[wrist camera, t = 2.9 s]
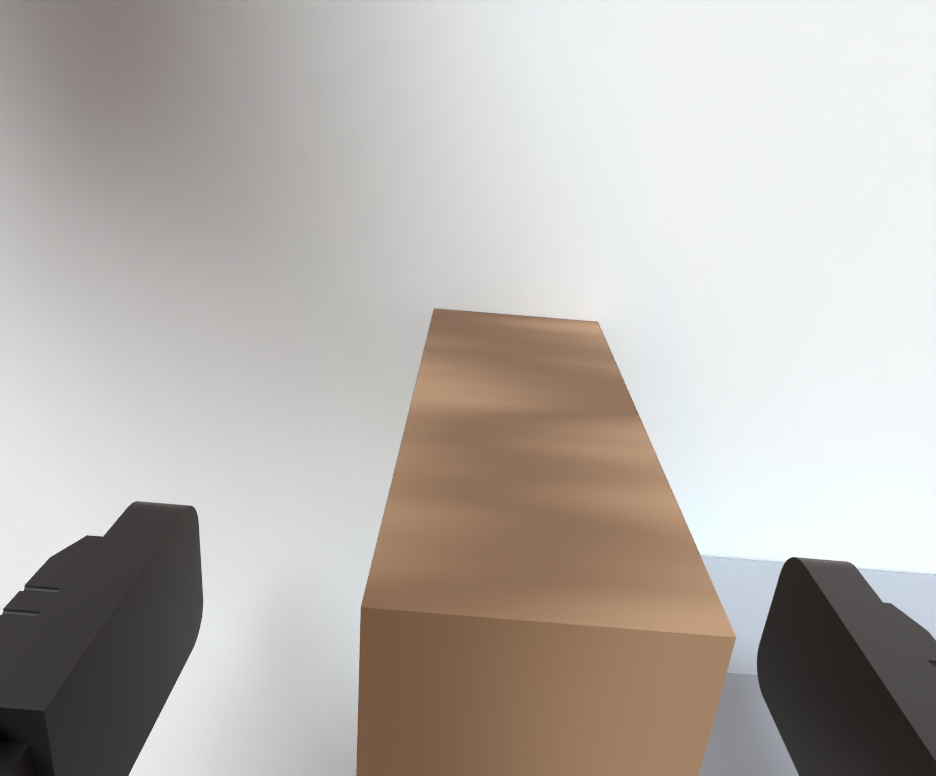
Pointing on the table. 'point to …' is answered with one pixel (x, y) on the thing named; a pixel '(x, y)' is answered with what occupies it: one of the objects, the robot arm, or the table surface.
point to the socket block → (741, 702)
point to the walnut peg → (533, 573)
